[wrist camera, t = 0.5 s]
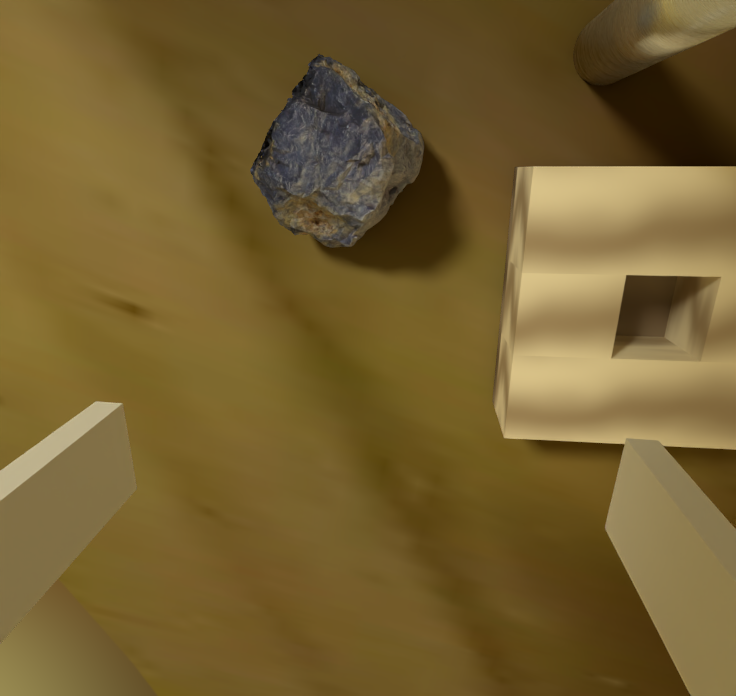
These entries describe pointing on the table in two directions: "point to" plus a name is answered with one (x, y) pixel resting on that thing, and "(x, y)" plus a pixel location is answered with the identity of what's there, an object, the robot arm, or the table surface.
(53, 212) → the table surface
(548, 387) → the bore block
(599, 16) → the pin
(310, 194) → the rock
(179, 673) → the table surface
